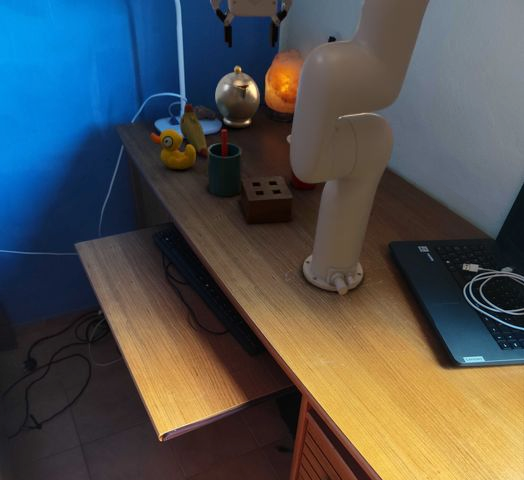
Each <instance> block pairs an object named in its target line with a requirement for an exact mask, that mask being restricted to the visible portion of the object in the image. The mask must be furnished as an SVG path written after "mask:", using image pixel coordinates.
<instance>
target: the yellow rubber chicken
mask: <svg viewBox="0 0 524 480" xmlns="http://www.w3.org/2000/svg"><path fill="white" fill-rule="evenodd" d="M183 107H184V109H183V113H182V116H181V117H180V120H179V128H180V133H181V134H183V135H182V137H183V138H184V139H185V140H186V141H187V142H188V143H189V144H190V145H192V146H193V147H194V148H195V151H196V153H198V154H199V155H201V156H203V157H208V152H207V151H208V146H207V141H206V136H205V132H204V130H203V127H202V124H201V123H200V121H199V119H198V117H197V115H196V112H195V109H194V107H193V105H192V104H191V103H186V104H184V106H183Z"/></svg>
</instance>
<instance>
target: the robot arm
mask: <svg viewBox="0 0 524 480" xmlns="http://www.w3.org/2000/svg"><path fill="white" fill-rule="evenodd" d="M223 1H224V0H209V2H210V4H211V6H212V9H213V11H214V13H215V15H216V17H217V18H218V19H219V20H220V21H221V23H222V24H223V42H224V43H226V46H227V47H228V48H229V49H231V48H233V26H232V24H231V23H232V21H233V20H234V18H235V17H241V18H243V17H244V18H251V17H252V18H270V19H271V22H270V23H269V30H268V45H269V46H270V47H271V48H275V47H276V43H277V42H278V38H279V26H280V25H281V23H282V22H283V21H284V20H285V19H286V17H287V16H288V13H289V11H290V9H291V7H292V5H293V0H279V1H280V2H281V3H282V7H281V9H280V10H279V11H278V0H226V4H227V5H226V6H227V10H226V11H225V12H223V11H222V10H221V7H220V3H222V2H223ZM430 1H431V0H363V1H362V5H361V9H360V14H359V19H358V24H357V27H356V30H355V33H354V36H353V37H352V38H350V40H343V41H331V42H325V43H323V44H322V43H321V44H320V45H317V46H316V47H315V48H313V49H312V50H311V51H310V52H309V54H308V55H306V58H305V60H304V62H303V64H302V66H301V69H300V73H299V78H298V84H297V91H296V96H295V97H296V98H295V104H294V111H293V120H292V126H291V134H290V135H291V140H290V151H289V163H290V168H291V167H292V170H293V172H294V174H295V176H296V177H297V178H298V179H299V180H300V181H302V182H305V183H315V184H321V183H325V185H324V187H323V189H322V192H321V195H320V203H319V208H318V209H319V210H318V216H317V222H316V229H315V235H314V241H313V249H312V253H311V254H310V255H308V257H306V259H305V260H304V261H303V264H302V265H303V266H302V272H303V275H304V277H305V279H306V280H307V281H308V282H309V283H310V284H312V285H313V286H315V287H317V288H320V289H322V290H325V291H331V292H337V293H338V294H339V295H345V294H347V293H348V291H349V290H352V289H355V288H356V287H358V285H360V283H361V282H362V280H363V277H364V268H363V266H362V265H361V263H360V257H361V253H362V248H363V245H364V240H365V236H366V233H367V228H368V224H369V222H370V221H369V220H370V216H371V212H372V208H373V204H374V201H375V197H376V193H377V190H378V186H379V184H380V181H381V180H382V177H383V174H384V172H385V170H386V168H387V166H388V163H389V162H390V159H391V156H392V153H393V149H394V132H393V129H392V126H391V124H390V123H389V122H388V120H387V119H386V118H384V117H383V116H381V115H379V114H376V113H373V112H378V111H382V110H385V109H388V108H389V107H391V106H392V105H394V104H395V102H396V101H397V99H398V97H399V95H400V93H401V91H402V87H403V85H404V83H405V79H406V76H407V73H408V70H409V66H410V63H411V59H412V56H413V53H414V50H415V47H416V45H417V41H418V37H419V34H420V31H421V27H422V23H423V20H424V16H425V14H426V11H427V8H428V5H429V3H430Z"/></svg>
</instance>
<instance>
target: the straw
mask: <svg viewBox="0 0 524 480" xmlns="http://www.w3.org/2000/svg"><path fill="white" fill-rule="evenodd" d="M221 143H222V157H227V143H228V130H227V129H224V128H223V129H221Z"/></svg>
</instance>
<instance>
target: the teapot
mask: <svg viewBox="0 0 524 480" xmlns="http://www.w3.org/2000/svg"><path fill="white" fill-rule="evenodd" d="M233 70H234V71H233V72H229V73H227V74H226V75H224V76H222V78H221V79H220V80H219V82H218V83H217V86H216V88H215V92H214V93H215V95H214V96H215V97H214V98H215V104H216V108H217V109H218V111H219V113H220V114H221V116H222V117H223V120H222V121H223V123H224V125H225V126H227V127H229V128H232V129H245V128H247V127H249V126H250V125H251V123H252V117H253V116H254V115H255V114H256V112H257V111H258V108H259V105H260V100H261V99H260V98H261V97H260V95H261V94H260V89H259V88H258V87H259V86H258V85H257V83H256V81H255V80H254V79H253V78H252V77H251V76H250V75H249V74H246V73H244V72H242V68H241V66H239V65H235V67H234V69H233Z"/></svg>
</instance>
